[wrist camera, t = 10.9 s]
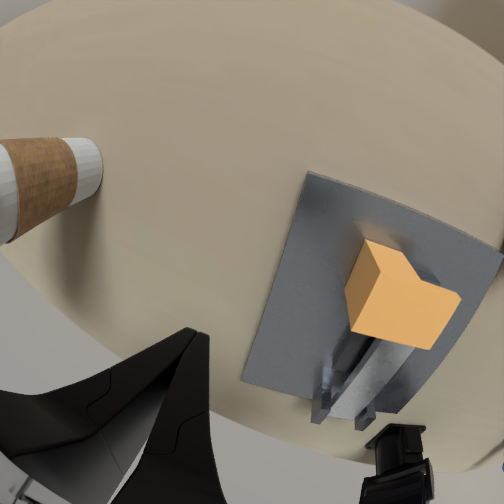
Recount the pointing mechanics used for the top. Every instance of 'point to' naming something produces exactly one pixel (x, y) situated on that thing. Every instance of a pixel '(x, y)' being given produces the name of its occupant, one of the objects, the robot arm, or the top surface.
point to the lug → (395, 299)
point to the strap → (369, 377)
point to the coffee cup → (44, 180)
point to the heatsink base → (334, 300)
